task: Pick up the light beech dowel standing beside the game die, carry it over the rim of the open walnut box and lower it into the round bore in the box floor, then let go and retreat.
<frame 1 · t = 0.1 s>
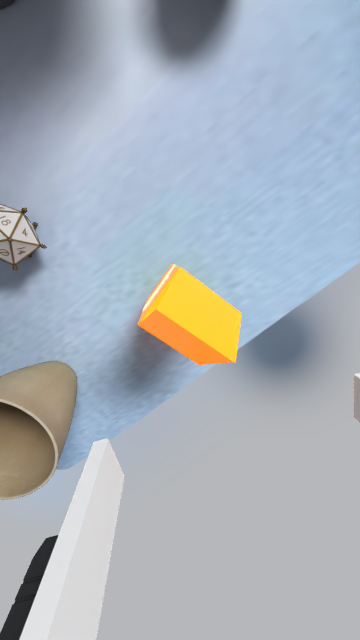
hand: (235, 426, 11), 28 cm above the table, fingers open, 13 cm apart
plant pot: (56, 377, 40), on the table
game die: (24, 237, 33), on the table
orange juice: (180, 296, 38), on the table
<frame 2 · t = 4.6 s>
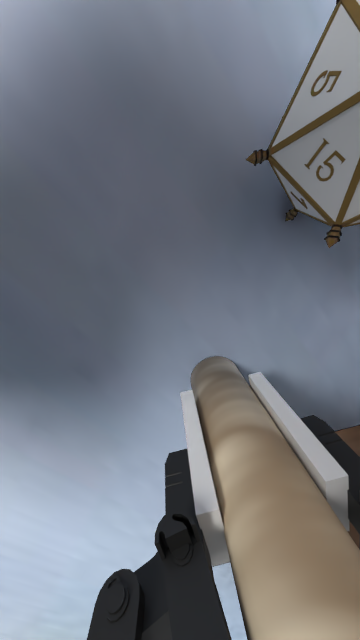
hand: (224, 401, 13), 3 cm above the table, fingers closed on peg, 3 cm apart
game die: (306, 169, 13), on the table
peg: (214, 378, 16), on the table, touching gripper
when the fingers open (4 cm above the table, at t = 9.4 s): peg stays where it is, resting in box.
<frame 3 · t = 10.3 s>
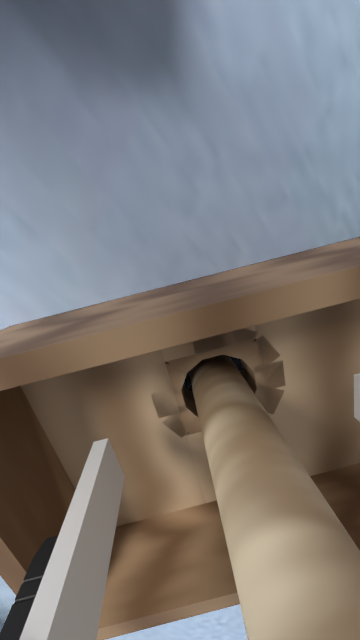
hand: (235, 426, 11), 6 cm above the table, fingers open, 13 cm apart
box: (214, 388, 18), on the table
peg: (210, 368, 17), resting in box
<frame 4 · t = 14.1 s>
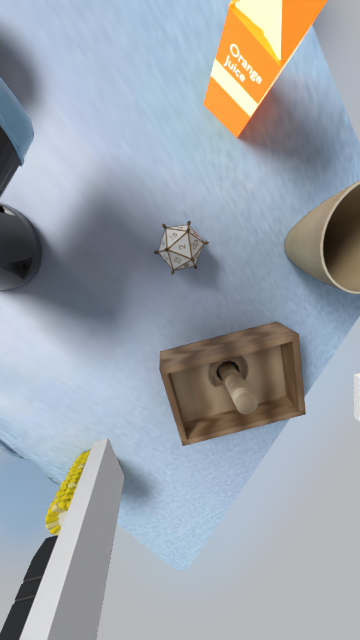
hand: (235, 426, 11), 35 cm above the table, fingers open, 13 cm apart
plant pot: (300, 244, 44), on the table
game die: (179, 248, 42), on the table
box: (225, 372, 50), on the table
food: (93, 460, 54), on the table
orange juice: (236, 97, 36), on the table
peg: (224, 365, 50), resting in box
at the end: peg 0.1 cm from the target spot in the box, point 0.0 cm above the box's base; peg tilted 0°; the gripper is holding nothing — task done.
